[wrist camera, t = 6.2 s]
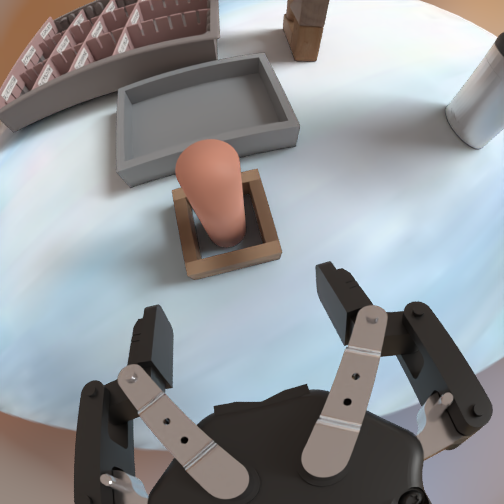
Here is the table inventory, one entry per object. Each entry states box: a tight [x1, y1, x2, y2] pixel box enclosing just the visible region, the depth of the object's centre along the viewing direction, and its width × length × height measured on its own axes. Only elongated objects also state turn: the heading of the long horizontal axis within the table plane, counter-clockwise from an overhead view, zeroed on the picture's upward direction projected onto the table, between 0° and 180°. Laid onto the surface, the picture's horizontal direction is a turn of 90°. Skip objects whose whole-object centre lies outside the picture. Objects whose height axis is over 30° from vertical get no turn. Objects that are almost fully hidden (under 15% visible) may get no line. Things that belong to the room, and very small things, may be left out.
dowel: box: [175, 139, 246, 248], centre depth 23 cm, size 4×4×13 cm
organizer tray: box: [0, 0, 220, 132], centre depth 33 cm, size 32×40×10 cm
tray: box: [116, 53, 300, 188], centre depth 30 cm, size 20×14×4 cm
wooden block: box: [283, 0, 329, 61], centre depth 28 cm, size 4×11×18 cm, turn 6°
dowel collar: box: [172, 169, 282, 280], centre depth 28 cm, size 9×9×3 cm
